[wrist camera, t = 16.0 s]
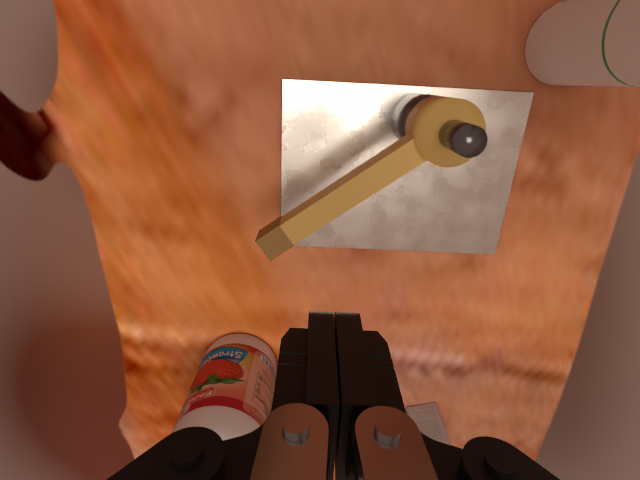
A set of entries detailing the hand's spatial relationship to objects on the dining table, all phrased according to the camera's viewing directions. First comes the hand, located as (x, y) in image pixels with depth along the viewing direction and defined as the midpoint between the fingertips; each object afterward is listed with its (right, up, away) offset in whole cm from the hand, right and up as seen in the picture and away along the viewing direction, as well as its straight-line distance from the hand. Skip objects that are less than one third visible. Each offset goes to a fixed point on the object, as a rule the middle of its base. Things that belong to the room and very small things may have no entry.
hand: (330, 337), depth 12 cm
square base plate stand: (+8, +10, +29) cm, 32 cm away
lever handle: (+3, +8, +22) cm, 23 cm away
